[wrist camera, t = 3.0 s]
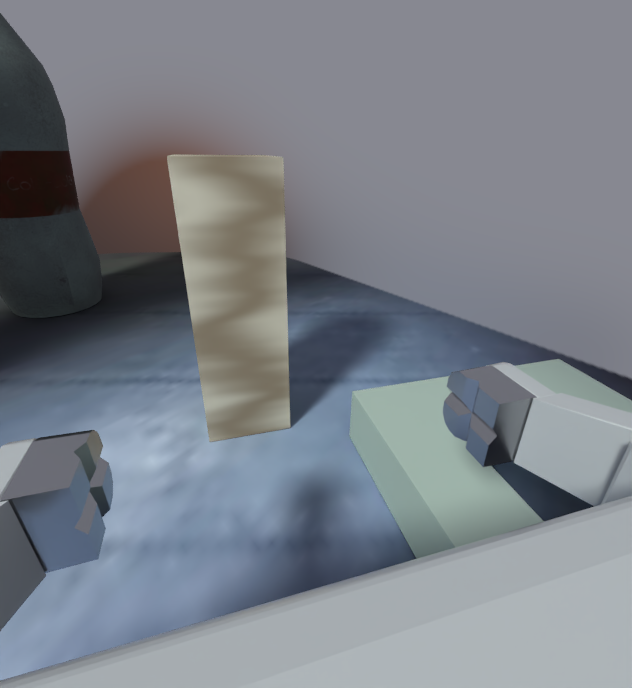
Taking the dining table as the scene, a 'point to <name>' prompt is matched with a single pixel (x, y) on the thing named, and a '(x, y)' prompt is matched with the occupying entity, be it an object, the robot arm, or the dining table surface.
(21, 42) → the bottle
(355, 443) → the socket plate
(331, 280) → the dining table surface
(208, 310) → the peg
